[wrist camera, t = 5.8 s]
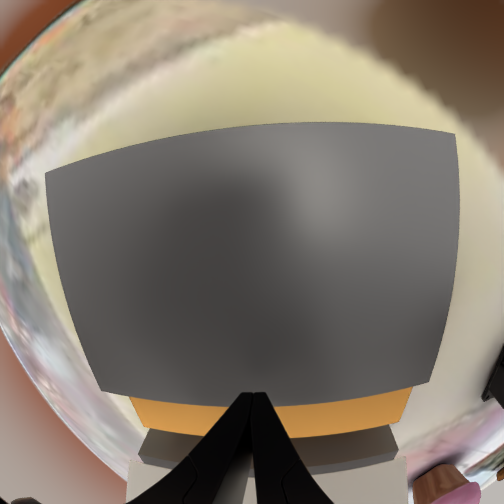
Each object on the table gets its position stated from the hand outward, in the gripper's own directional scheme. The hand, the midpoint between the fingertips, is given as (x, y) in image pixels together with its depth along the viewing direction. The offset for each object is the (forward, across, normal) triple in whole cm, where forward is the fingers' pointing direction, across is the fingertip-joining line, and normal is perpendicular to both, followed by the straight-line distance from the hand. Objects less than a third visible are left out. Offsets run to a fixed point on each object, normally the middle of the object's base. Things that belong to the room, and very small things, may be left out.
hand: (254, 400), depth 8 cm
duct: (+6, 0, +3) cm, 6 cm away
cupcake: (+6, -20, +25) cm, 32 cm away
